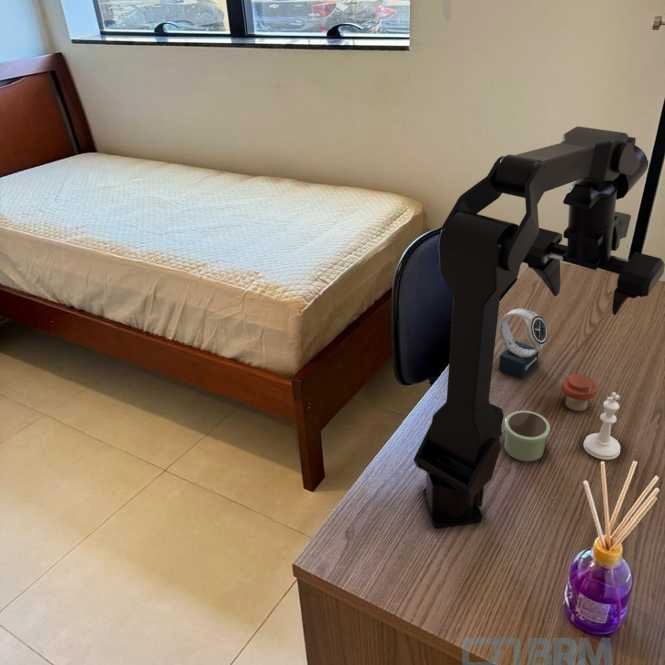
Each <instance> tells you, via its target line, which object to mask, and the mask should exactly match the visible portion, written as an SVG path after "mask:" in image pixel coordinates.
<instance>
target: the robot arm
mask: <svg viewBox="0 0 665 665" xmlns="http://www.w3.org/2000/svg"><path fill="white" fill-rule="evenodd" d="M636 140H637V138H636V137H632V136H629V135H628V133H627V132H622V131H615V130H609V129H602V128H593V127H587V126H575V127H573V128H572V129H570V130H568V131H566V132H565V133H563V135H562V136H561V141H560V143H555V144H552V145H548V146H545V147H540V148H537V149H533V150H530V151H529V150H528V151H525V152H522V153H518V154H507V155H505V156H504V155H501V156H499V157H498V158H497V159H496V161H495V162H494V163H493V165H492V167H491V169H490V170H489V172H488V173H487V175H486V176H485V177H484V178H483V179H481V180H479V182H476V183H475V184H474V185H473V186H472V187H470V188H468V189H467V190H466V191H465V192H464V193H462V194H461V195H460V196H459V197H458V198H457V199H456V202H455V203H454V205H453V207H452V209H451V210H450V212H449V214H448V215H447V218H446V219H445V221H444V223H443V224H442V226H441V228H440V229H439V230H440V231H439V233H438V241H437V242H438V243H437V244H438V258H439V259H438V260H439V261H438V262H439V271H440V274H441V276H442V278H443V280H444V282H445V283H446V285H447V287H448V289H449V291H450V293H451V295H452V312H451V327H450V328H451V329H450V342H449V343H450V344H449V345H450V346H449V358H448V373H447V374H448V375H447V390H446V400H445V402H444V403H443V405H441V406H440V407H439V408H438V409H437V410H436V411H435V412H434V413H433V414H432V419H431V423H430V425H429V427H428V429H427V431H426V433H425V435H424V437H423V440H422V442H421V443H420V445H419V447H418V449H417V451H416V453H415V455H414V456H413V462H414V465H415V467H416V468H418V469H419V470H420V469H421V470H422V471H424V472H426V480H425V481H426V482H425V483H426V484H425V485H426V486H425V487H423V488H422V496H423V499H424V502H425V505H426V508H427V512H428V515H429V517H430V521H431V523H432V526H433V527H434V528H436V529H438V528H439V529H440V528H446V527H453V526H461V525H468V524H473V523H474V524H475V523H480V522H482V521H483V517H484V516H483V514H482V512H481V510H480V508H482V506H483V501H484V500H483V499H484V490H485V486H486V485H487V484H488V483H489V482H490V481H491V480H492V478H493V475H494V472H495V468H496V465H497V461H498V460H499V459H498V458H499V454H500V452H501V447H502V444H501V441H500V440H501V437H502V435H503V431H502V427H503V422H504V417H505V415H504V414H505V413H504V411H503V409H502V408H501V407H500V406H497V405H495V404H493V403H491V402H490V392H491V383H492V374H493V367H494V366H493V364H494V355H495V349H496V348H495V346H496V338H497V331H498V320H499V311H500V304H501V303H500V302H501V296H502V294H503V293H504V292H505V291H506V290H507V289H508V287H510V286H511V284H512V283H513V282H514V281H515V280H516V279H517V277H518V276H519V274H520V269H521V265H522V264H523V263H525V264H526V265H527V267H528V268H529V269H532V270H533V271H534V272H535V273H536V275H538V277H539V278H540V279H541V280H542V281H543V283H544V284H545V285H546V287H547V288H548V290H549V291H550V292H551V294H552V296H554V297H557V296H558V295H559V294H560V291H561V262H564V263H568V264H571V265H575V266H579V267H582V268H586V269H590V270H594V271H597V270H602V271H606V272H609V273H613V274H617V275H618V277H617V280H616V288H615V289H614V291H613V298H612V307H611V310H612V315H613V316H616V315H617V314H618V313H619V311H620V310H621V308H622V306H623V305H624V303H625V301H627V299H628V298H630V299H637V298H638V297H640V298H644V297H648V296H649V295H650V293H651V292H652V291H653V289H654V287H655V286H656V285H657V283H658V282H659V281H660V279H661V278H662V276H663V275H664V272H665V261H664V260H663V259H662V258H661V257H657V256H653V255H650V254H646V253H642V252H638V251H635V252H634V253H633V254H632V255H631V257H630V258H629V259H628V258H627V259H626V258H623V257H619V256H616V255H612V251H613V252H616V251H617V250H618V249H619V248H620V244H621V243H620V242H621V240H622V239H623V238H624V239H625V238H626V237H627V234H628V231H629V227H630V222H631V218H632V215H631V214H629V213H626V212H621V211H616V205H617V200H621V199H624V197H626V195H627V194H628V193H629V192H630V191H631V190H632V189H633V187H635V185H636V184H637V183H638V182H639V181H640V180H641V178H642V177H643V176H644V174H646V172H647V170H648V168H649V160H648V157H647V154H646V153H645V152H644V150H643V149H642V148H640V147H639V146H637V145H636ZM571 183H572V184H571ZM568 184H571V185H570V186H569V191H568V192H567V193H566V194H565V195H564V198H563V201H562V203H563V205H568V218H567V219H568V220H567V227H566V228H565V229H564V231H563V234H562V233H561V232H558V231H553V230H549V229H546V228H542V227H540V223H539V208H538V205H539V203H540V201H541V199H542V197H543V196H544V194H545V193H546V192H549V191H552V190H554V189H557V188H560V187H563V186H566V185H568ZM502 194H505V195H509V196H514V197H519V198H523V199H525V200H524V201H525V214H524V217H522V220H521V221H520V223H519V225H518V224H516V223H514V222H510V221H507V220H502V219H498V218H494V217H490V216H486V215H482V214H479V213H480V212H481V211H483V210H484V209H485V208H486V207H489V206H490V205H491V204H493V203H495V201H497V200H498V199H499V198H500V197H501V196H502ZM563 239H566V240H567V245H566V244H563V243H561V242H562V241H563Z"/></svg>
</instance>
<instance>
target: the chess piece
mask: <svg viewBox="0 0 665 665" xmlns="http://www.w3.org/2000/svg"><path fill="white" fill-rule="evenodd" d="M617 400H620V395H619V394H617V392H615V391H614V392H611V395H610V396H607V397H606V400H605V401H604V402H603V410H604V412H602V413H601V414H600V415H599V419H600V420H601V421H602V424H601V427H600V429H599V432H594V433H590V434H588V435H587V436H586V437H585V438H584V440H583V443H582V444H583V445H582V446H583V448H584V450H585V452H587V453H588V454H589V455H590V456H593V457H594V458H596V459H599V460H605V461H606V460H607V461H609V460H614V459H616V458H618V457H619V456H620V454H621V444H620V443H619V441H618V440H617V439H616V438H615V437H613V436H611V432H612V424H615V423H616V422H617V420H618V419H617V416H616V415H615V414H616V413H617V411H619V409H620V404H619V402H617Z"/></svg>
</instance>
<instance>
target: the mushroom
mask: <svg viewBox="0 0 665 665" xmlns="http://www.w3.org/2000/svg"><path fill="white" fill-rule="evenodd" d="M560 388H561V391H562V393H563V394H564V395H565V396H566V398H565V406H566V407H567V409H569V410H572V411H575V412H582V411H585V410H586V409H587V407H588V405H589V401H590V400H593V399H595V397H597V394H598V392H599V391H598V390H599V384H598V383H597V381H596V380H595V379H594V378H592V377H591V376H589V375H586V374H584V373H573V374H568V375H567V376H565V377H563V379H562V382H561V387H560Z"/></svg>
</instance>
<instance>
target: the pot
mask: <svg viewBox="0 0 665 665" xmlns="http://www.w3.org/2000/svg"><path fill="white" fill-rule="evenodd" d="M503 424H504V430H505V435H504V444H503V445H504V446H503V447H504V450H505V452H506V453H507V454H508V455H509V456H510V457H511V458H512V459H516V460H517V461H521V462H535V461H537V460H539V459H541V458H542V457H543V455H544V454H545V448H546V441H547V439H548V437H549V435H550V431H551V425H550V423H549V421H548V420H547V419H546V418H545V417H544V416H542V415H541V414H540V413H537V412H534V411H530V410H516V411H513V412H511V413H510V414H508V415H507V416H506V417H505V420H504V423H503Z"/></svg>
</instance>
